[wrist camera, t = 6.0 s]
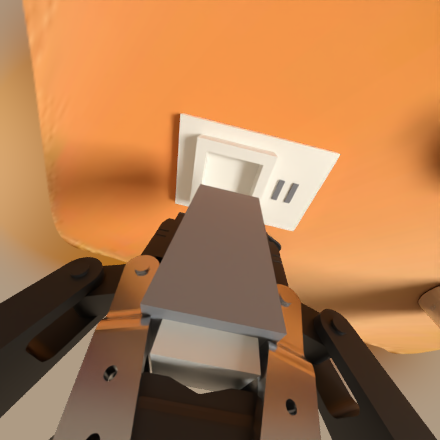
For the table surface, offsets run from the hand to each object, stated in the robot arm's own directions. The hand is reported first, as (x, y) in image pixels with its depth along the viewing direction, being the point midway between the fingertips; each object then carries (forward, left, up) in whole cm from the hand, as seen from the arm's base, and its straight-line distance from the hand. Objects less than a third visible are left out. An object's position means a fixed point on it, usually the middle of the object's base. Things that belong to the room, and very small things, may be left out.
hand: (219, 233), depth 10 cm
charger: (0, 0, -2) cm, 2 cm away
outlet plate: (-2, 0, -11) cm, 11 cm away
